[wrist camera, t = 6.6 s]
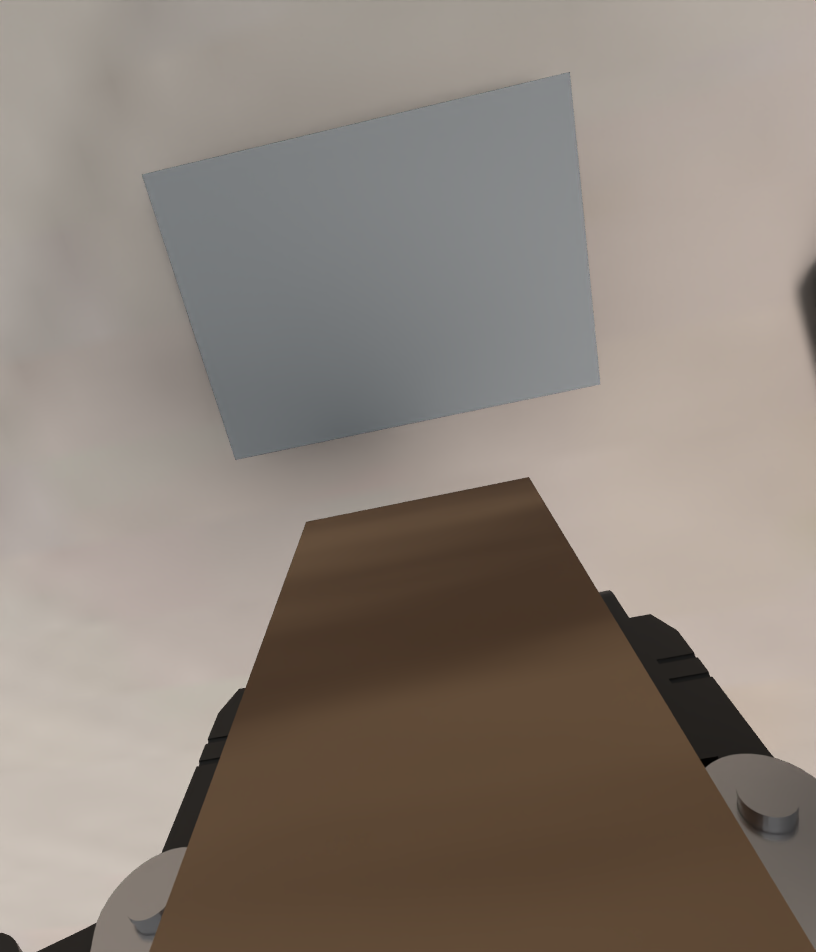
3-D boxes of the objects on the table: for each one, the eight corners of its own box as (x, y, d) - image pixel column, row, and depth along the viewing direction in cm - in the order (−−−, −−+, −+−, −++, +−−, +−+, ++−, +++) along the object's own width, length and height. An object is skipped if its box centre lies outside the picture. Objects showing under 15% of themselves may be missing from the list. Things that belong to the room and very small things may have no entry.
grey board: (175, 186, 22) (141, 174, 19) (547, 98, 21) (569, 72, 18) (253, 437, 25) (235, 459, 22) (577, 370, 24) (600, 384, 22)
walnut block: (306, 521, 12) (-420, 2506, 1) (529, 477, 11) (1759, 2513, 1) (359, 699, 13) (210, 2270, 3) (556, 663, 13) (1186, 2263, 3)
